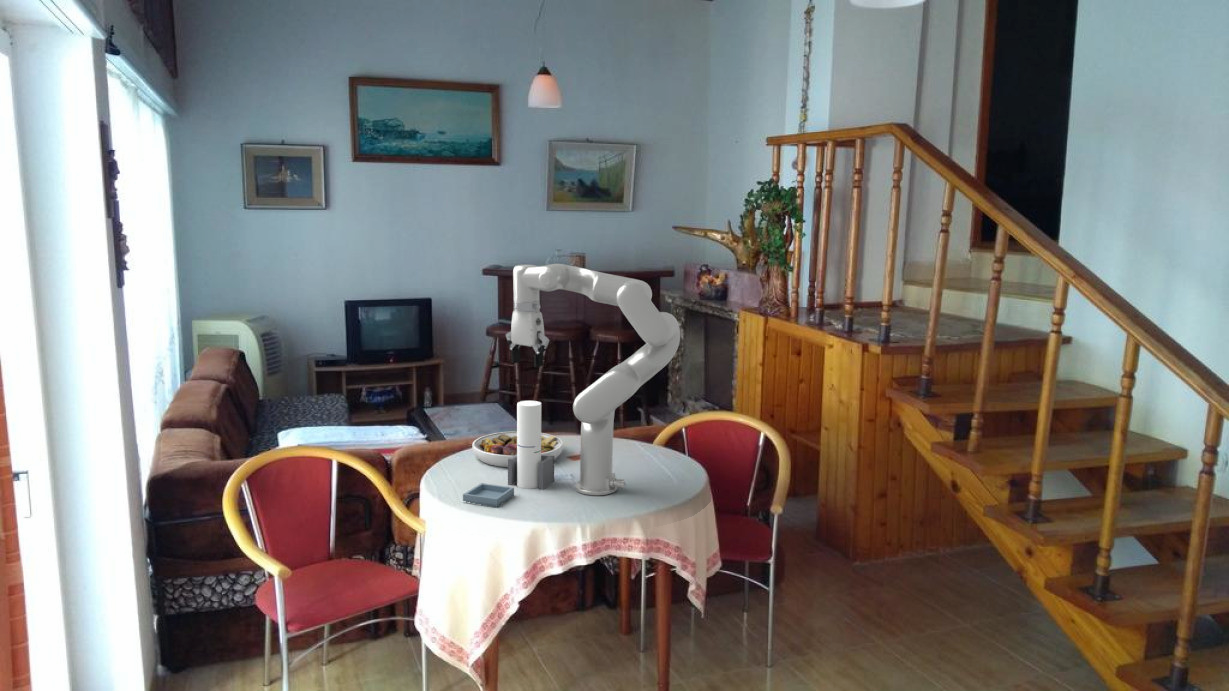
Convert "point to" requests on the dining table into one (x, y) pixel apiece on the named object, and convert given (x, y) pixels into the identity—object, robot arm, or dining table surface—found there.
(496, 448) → the bowl
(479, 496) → the tray
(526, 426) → the cylindrical container
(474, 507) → the dining table surface
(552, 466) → the bay
